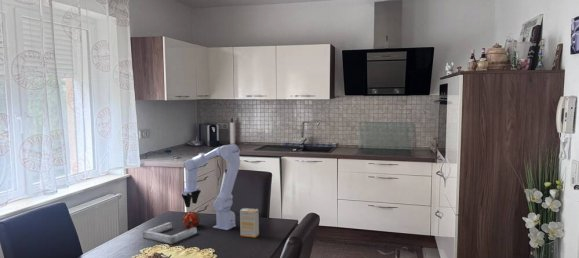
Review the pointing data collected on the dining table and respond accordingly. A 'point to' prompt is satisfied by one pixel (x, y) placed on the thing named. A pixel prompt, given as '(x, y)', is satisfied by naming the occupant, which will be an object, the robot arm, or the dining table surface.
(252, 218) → the supplement box
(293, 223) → the dining table surface
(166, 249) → the dining table surface
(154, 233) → the grey u-shaped bracket
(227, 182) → the robot arm
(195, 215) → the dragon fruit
